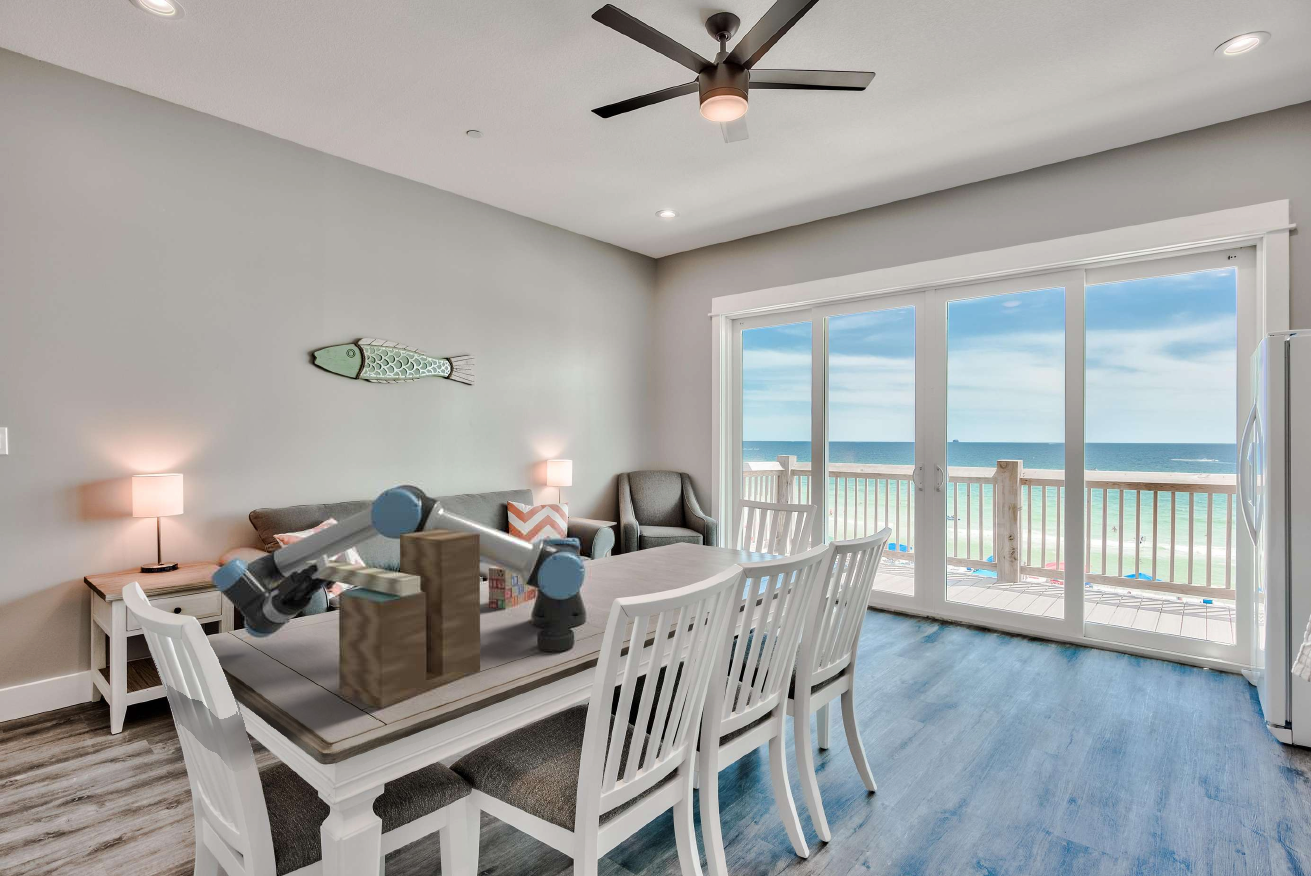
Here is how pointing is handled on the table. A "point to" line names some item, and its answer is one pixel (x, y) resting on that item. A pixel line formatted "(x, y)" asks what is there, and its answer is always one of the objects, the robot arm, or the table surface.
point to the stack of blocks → (508, 589)
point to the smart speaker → (555, 639)
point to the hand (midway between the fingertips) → (337, 558)
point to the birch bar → (370, 578)
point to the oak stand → (414, 623)
